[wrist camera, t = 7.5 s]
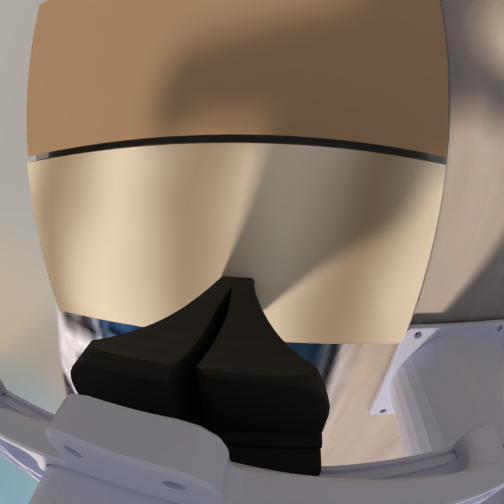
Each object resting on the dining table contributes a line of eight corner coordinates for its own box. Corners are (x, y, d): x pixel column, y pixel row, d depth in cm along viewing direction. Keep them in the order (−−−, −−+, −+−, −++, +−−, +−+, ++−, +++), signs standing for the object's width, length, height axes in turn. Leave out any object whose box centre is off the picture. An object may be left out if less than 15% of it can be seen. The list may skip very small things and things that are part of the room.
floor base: (427, -24, 7) (446, -42, 5) (402, 322, 14) (416, 349, 12) (58, -2, 9) (33, -11, 6) (71, 294, 16) (50, 314, 14)
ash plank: (429, 159, 10) (446, 165, 9) (394, 324, 13) (402, 342, 12) (46, 157, 12) (27, 162, 10) (73, 296, 15) (59, 310, 14)
